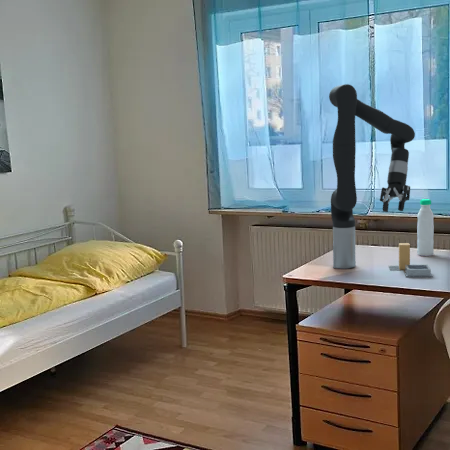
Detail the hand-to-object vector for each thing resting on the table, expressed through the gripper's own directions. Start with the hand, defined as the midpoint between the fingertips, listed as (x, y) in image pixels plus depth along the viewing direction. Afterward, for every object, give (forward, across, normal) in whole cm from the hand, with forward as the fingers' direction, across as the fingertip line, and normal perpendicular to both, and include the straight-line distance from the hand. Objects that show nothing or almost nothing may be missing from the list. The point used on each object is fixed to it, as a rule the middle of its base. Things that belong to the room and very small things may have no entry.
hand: (392, 211), depth 265 cm
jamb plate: (+23, +3, +8) cm, 24 cm away
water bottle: (+12, -11, +34) cm, 37 cm away
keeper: (+26, +14, +4) cm, 29 cm away
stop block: (+22, +3, +7) cm, 24 cm away
